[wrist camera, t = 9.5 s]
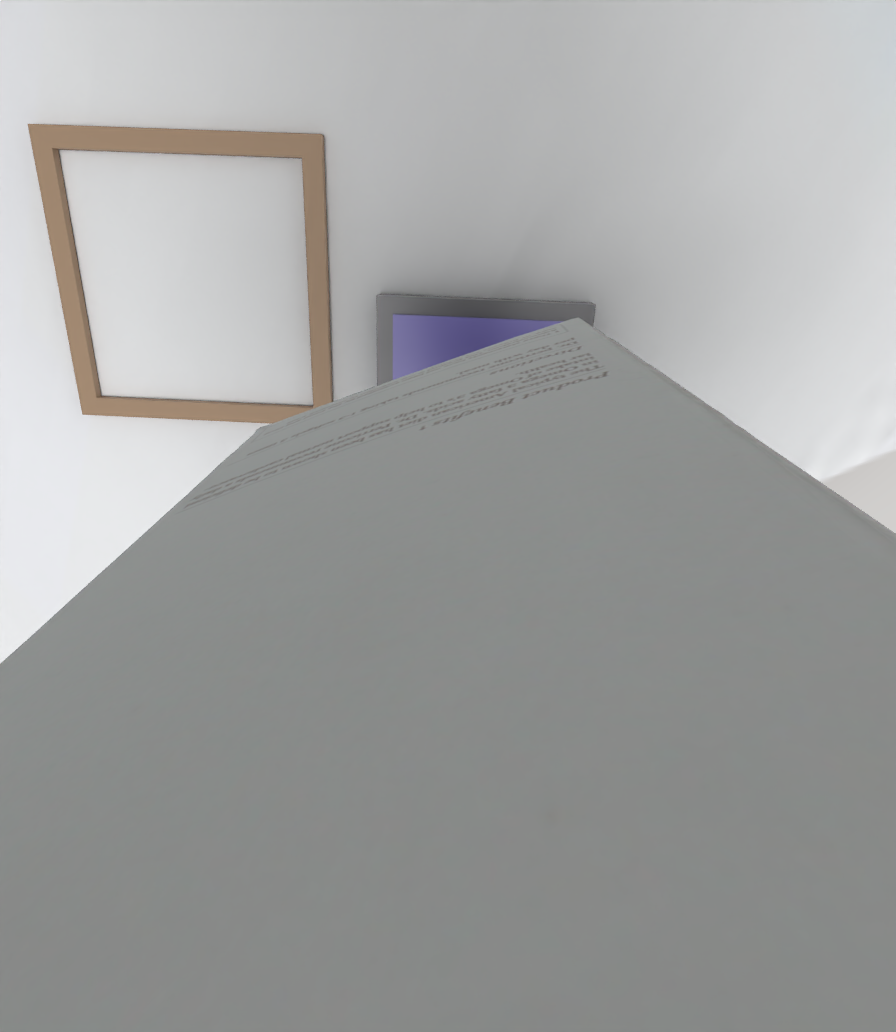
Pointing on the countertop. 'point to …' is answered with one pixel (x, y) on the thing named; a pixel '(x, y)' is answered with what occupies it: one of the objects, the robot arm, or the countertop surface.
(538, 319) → the ink pad
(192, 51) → the countertop surface
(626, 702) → the supplement box
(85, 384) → the tan picture frame
